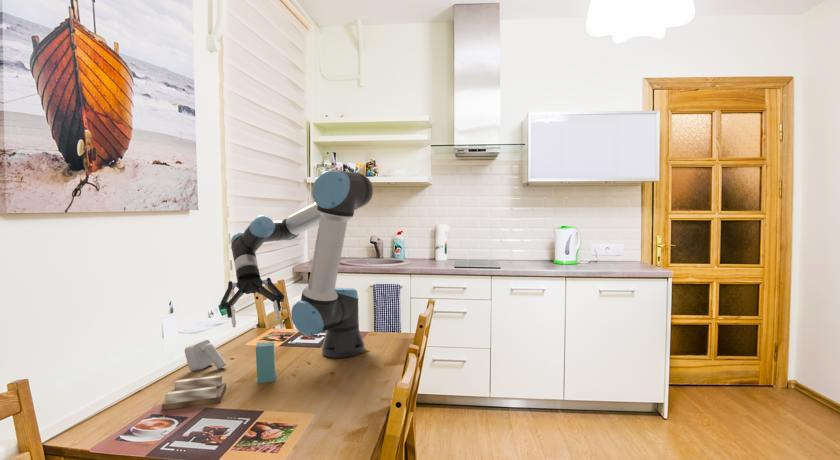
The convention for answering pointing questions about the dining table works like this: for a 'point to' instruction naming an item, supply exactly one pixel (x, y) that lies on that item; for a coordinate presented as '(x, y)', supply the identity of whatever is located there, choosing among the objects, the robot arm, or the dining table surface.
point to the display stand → (195, 392)
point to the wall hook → (203, 356)
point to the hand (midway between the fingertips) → (256, 322)
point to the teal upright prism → (265, 362)
